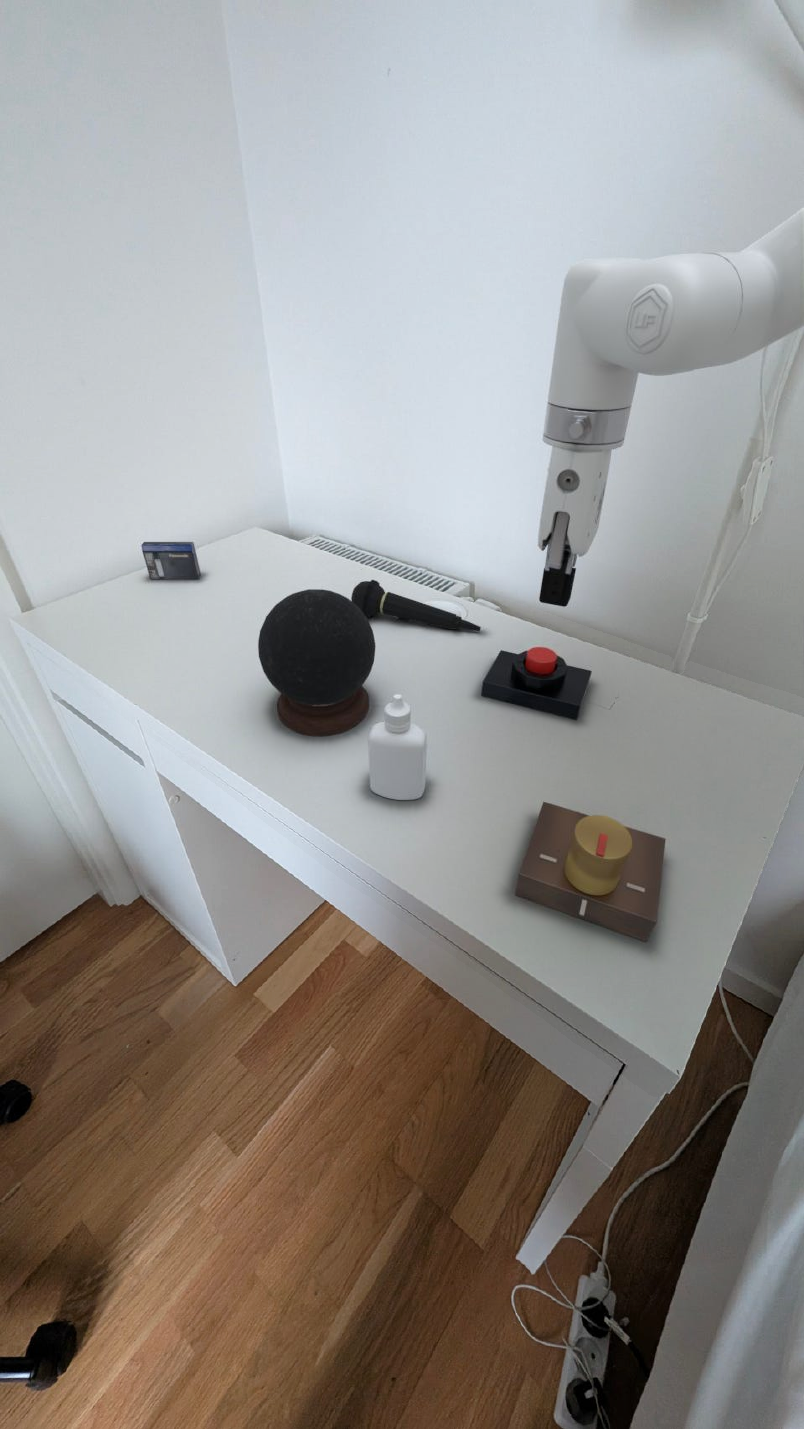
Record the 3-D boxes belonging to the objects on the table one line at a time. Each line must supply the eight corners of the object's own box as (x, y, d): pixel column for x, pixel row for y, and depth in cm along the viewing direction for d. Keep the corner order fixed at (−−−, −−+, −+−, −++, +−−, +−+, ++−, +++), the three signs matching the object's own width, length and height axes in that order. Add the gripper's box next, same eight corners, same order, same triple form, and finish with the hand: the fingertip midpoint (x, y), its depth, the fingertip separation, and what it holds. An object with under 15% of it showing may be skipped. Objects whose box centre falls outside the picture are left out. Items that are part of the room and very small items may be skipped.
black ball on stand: (312, 665, 78) (300, 560, 69) (397, 694, 73) (396, 585, 64) (246, 718, 69) (222, 606, 60) (337, 756, 64) (326, 639, 55)
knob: (569, 845, 51) (580, 805, 48) (621, 861, 49) (636, 822, 46) (559, 884, 48) (570, 845, 44) (614, 903, 46) (630, 864, 43)
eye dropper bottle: (391, 765, 63) (390, 674, 55) (431, 789, 60) (436, 697, 53) (363, 787, 60) (358, 695, 53) (404, 813, 57) (405, 720, 50)
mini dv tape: (150, 579, 98) (140, 545, 94) (153, 575, 99) (143, 541, 96) (198, 579, 98) (190, 545, 95) (201, 575, 99) (193, 541, 96)
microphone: (477, 643, 88) (355, 609, 91) (487, 606, 86) (362, 573, 89) (472, 652, 83) (343, 615, 86) (483, 613, 81) (350, 577, 84)
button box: (588, 684, 75) (595, 658, 72) (576, 720, 69) (583, 693, 67) (498, 663, 79) (502, 638, 76) (480, 695, 73) (483, 669, 70)
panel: (656, 859, 53) (666, 837, 51) (644, 962, 46) (655, 940, 44) (538, 822, 57) (543, 799, 55) (508, 911, 49) (513, 889, 47)
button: (557, 662, 72) (559, 650, 71) (551, 677, 70) (553, 665, 69) (529, 656, 73) (531, 644, 72) (521, 670, 71) (523, 658, 70)
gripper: (615, 447, 48) (575, 639, 59) (635, 412, 59) (598, 581, 70) (526, 439, 50) (504, 625, 62) (561, 407, 61) (537, 570, 72)
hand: (554, 601), depth 66 cm, fingers closed
